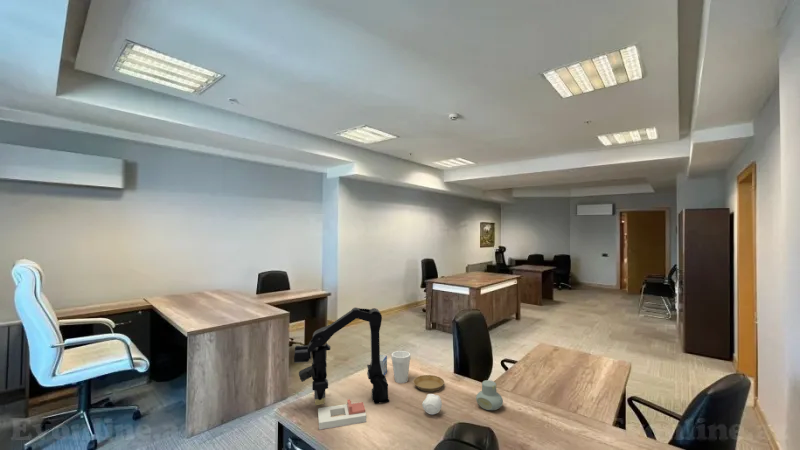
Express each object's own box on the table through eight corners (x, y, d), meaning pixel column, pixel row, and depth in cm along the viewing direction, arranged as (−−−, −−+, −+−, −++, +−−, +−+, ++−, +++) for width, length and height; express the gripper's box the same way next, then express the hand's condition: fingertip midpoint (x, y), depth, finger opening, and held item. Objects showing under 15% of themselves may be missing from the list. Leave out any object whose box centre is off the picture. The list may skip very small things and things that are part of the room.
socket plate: (361, 407, 142) (361, 401, 142) (366, 421, 131) (366, 415, 131) (318, 414, 137) (318, 408, 137) (318, 429, 126) (318, 422, 126)
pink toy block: (362, 403, 140) (362, 397, 140) (365, 411, 133) (365, 404, 133) (347, 406, 138) (347, 399, 138) (349, 414, 132) (349, 407, 132)
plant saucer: (423, 377, 171) (423, 372, 171) (449, 384, 163) (449, 379, 163) (407, 388, 159) (407, 383, 159) (435, 397, 151) (435, 391, 151)
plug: (324, 398, 146) (324, 382, 146) (325, 403, 142) (325, 387, 142) (314, 400, 145) (314, 384, 145) (314, 405, 141) (314, 388, 141)
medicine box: (383, 377, 171) (383, 360, 171) (375, 377, 172) (374, 360, 172) (387, 371, 178) (387, 355, 179) (379, 371, 179) (379, 354, 180)
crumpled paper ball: (431, 406, 142) (431, 387, 142) (445, 413, 137) (445, 393, 137) (418, 413, 137) (418, 394, 137) (433, 420, 131) (432, 401, 131)
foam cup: (396, 386, 161) (396, 359, 162) (388, 378, 169) (388, 353, 170) (414, 381, 166) (413, 355, 166) (405, 374, 174) (404, 349, 174)
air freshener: (506, 407, 141) (505, 383, 141) (496, 415, 135) (496, 390, 135) (482, 399, 148) (482, 376, 148) (473, 406, 142) (472, 382, 142)
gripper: (300, 355, 151) (300, 390, 150) (299, 371, 133) (299, 411, 132) (325, 352, 154) (326, 386, 153) (328, 368, 136) (328, 407, 135)
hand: (319, 397), depth 144 cm, fingers closed on plug, 4 cm apart
